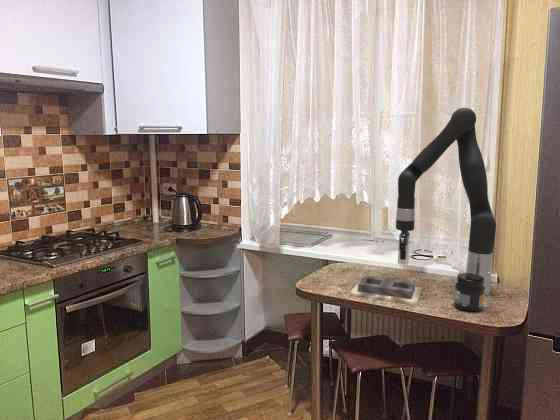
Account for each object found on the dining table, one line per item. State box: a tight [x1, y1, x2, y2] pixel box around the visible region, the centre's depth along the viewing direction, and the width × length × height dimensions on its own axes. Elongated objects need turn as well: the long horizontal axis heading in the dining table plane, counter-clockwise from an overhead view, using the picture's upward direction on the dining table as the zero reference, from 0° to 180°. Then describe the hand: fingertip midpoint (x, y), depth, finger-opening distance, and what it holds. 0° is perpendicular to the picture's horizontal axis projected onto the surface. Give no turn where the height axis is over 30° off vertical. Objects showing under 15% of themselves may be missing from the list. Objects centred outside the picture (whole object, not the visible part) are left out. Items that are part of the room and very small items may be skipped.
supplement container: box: [453, 272, 485, 312], centre depth 180 cm, size 10×10×12 cm
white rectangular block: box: [397, 241, 410, 266], centre depth 204 cm, size 4×4×9 cm
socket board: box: [349, 275, 423, 306], centre depth 195 cm, size 26×18×4 cm
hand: (403, 257), depth 204 cm, fingers closed on white rectangular block, 4 cm apart
